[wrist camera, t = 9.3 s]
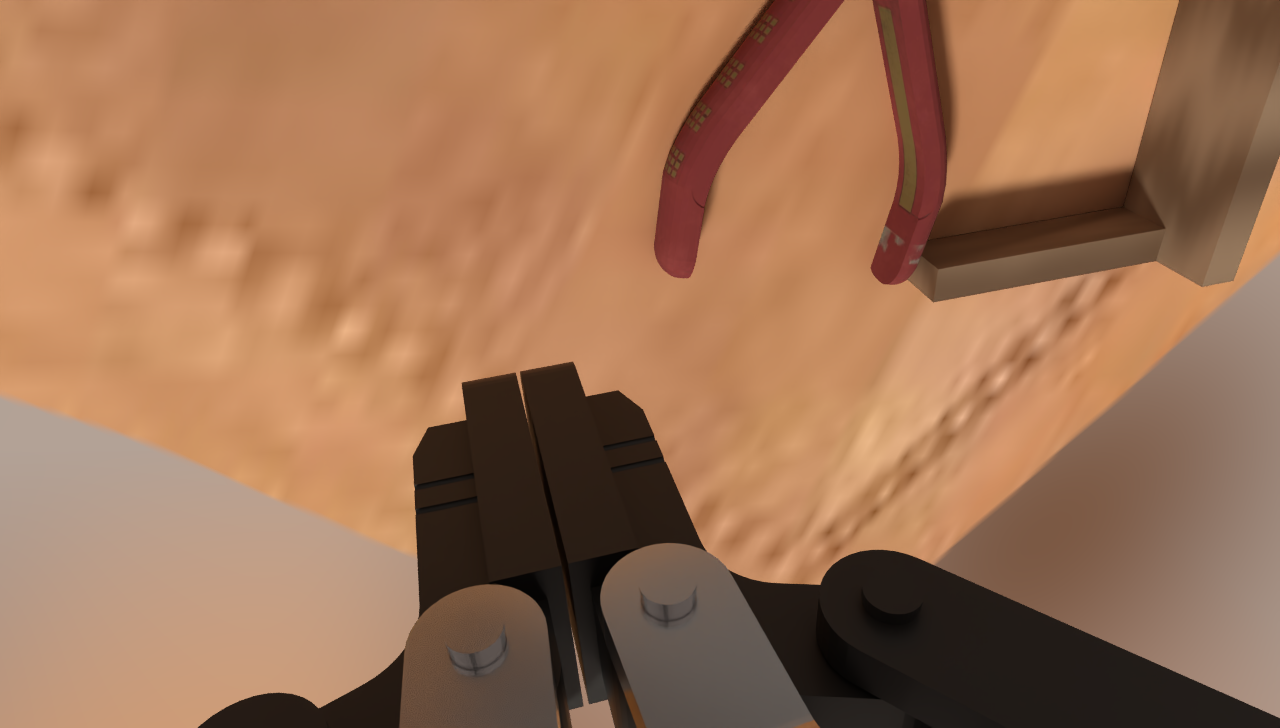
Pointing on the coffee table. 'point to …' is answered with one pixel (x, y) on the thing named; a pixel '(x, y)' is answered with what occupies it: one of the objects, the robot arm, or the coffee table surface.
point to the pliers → (750, 83)
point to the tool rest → (1157, 171)
